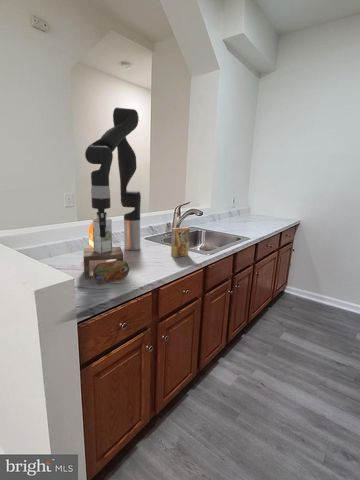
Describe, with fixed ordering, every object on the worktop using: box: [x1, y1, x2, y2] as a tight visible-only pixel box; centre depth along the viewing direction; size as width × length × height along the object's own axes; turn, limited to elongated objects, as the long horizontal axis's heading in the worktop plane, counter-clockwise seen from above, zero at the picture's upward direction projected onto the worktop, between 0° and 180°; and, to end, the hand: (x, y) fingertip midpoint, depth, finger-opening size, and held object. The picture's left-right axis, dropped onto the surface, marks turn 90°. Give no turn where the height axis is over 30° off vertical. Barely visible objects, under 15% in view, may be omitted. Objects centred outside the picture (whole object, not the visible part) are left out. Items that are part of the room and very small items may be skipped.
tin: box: [92, 259, 130, 285], centre depth 113 cm, size 15×3×8 cm, turn 126°
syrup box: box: [92, 217, 113, 254], centre depth 118 cm, size 6×6×14 cm
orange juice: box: [87, 216, 97, 248], centre depth 143 cm, size 8×9×20 cm
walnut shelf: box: [83, 246, 124, 280], centre depth 121 cm, size 12×16×10 cm
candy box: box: [170, 226, 190, 258], centre depth 149 cm, size 9×4×15 cm, turn 119°
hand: (102, 234), depth 118 cm, fingers open, 8 cm apart
